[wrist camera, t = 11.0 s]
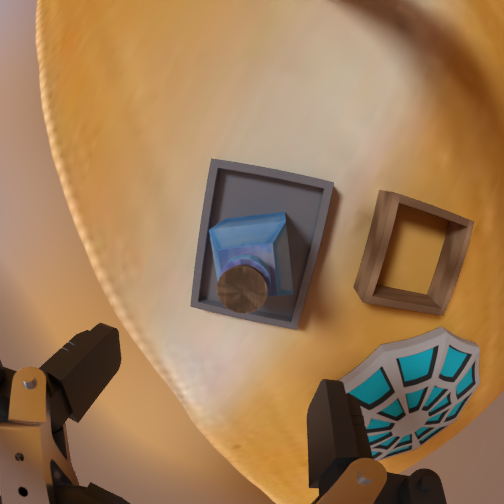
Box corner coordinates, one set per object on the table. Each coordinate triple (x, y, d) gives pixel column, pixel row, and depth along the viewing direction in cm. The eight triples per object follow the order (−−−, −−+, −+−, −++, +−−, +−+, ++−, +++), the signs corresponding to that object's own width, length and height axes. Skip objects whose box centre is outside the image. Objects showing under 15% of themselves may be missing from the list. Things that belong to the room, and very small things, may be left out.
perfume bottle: (224, 219, 28) (184, 247, 16) (284, 211, 27) (287, 236, 16) (233, 276, 30) (204, 335, 18) (291, 270, 29) (295, 330, 17)
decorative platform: (281, 386, 34) (280, 411, 30) (466, 287, 28) (486, 302, 23) (347, 468, 40) (349, 486, 35) (473, 405, 33) (483, 420, 29)
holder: (379, 190, 26) (393, 192, 22) (455, 216, 26) (474, 221, 22) (353, 287, 29) (362, 302, 25) (429, 301, 29) (443, 315, 25)
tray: (216, 159, 27) (211, 158, 25) (330, 182, 27) (334, 182, 25) (195, 299, 32) (190, 306, 30) (295, 320, 31) (296, 329, 29)
